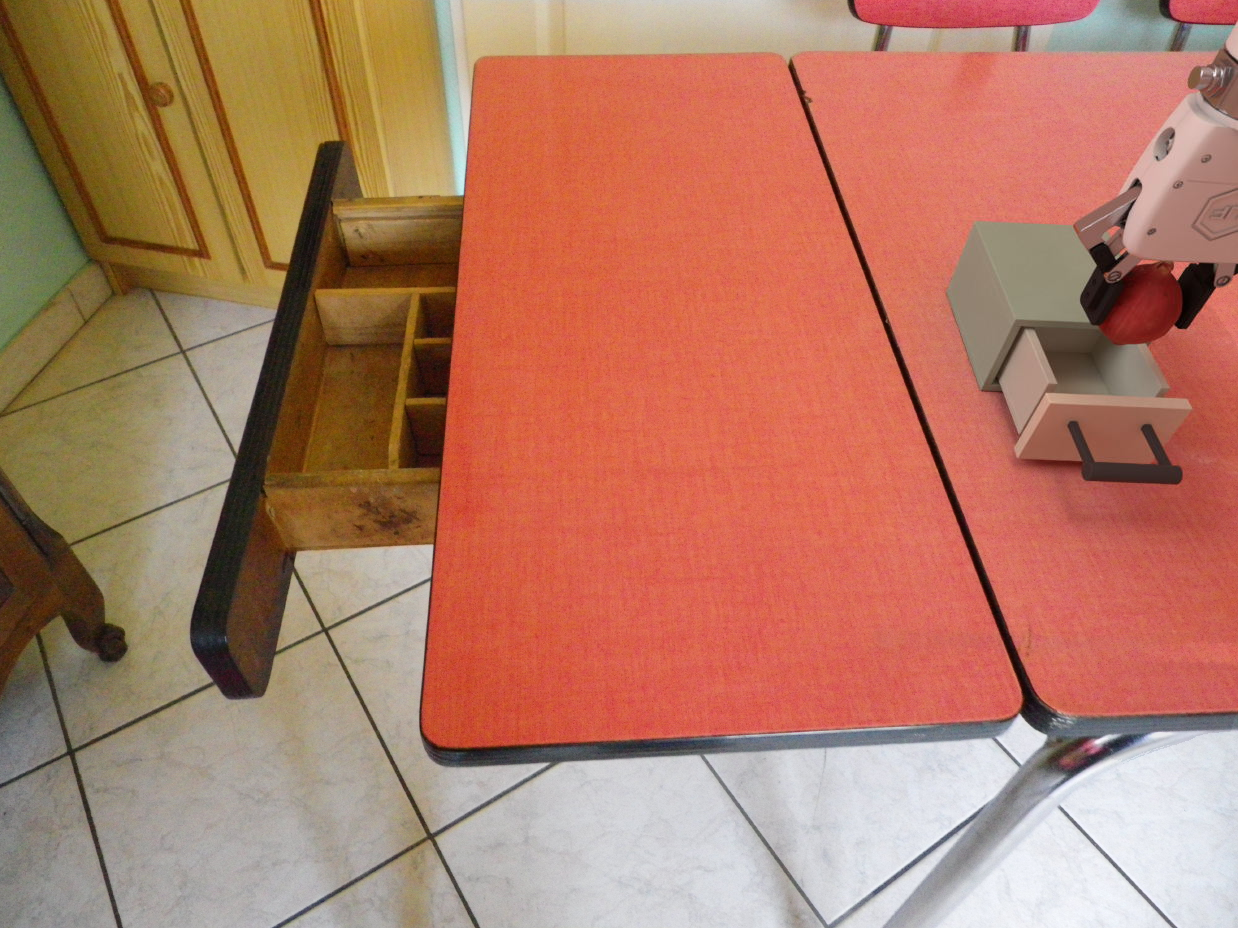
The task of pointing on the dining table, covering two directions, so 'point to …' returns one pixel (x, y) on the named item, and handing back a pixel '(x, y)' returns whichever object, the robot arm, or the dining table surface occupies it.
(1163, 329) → the onion
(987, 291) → the cabinet
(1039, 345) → the drawer
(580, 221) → the dining table surface
